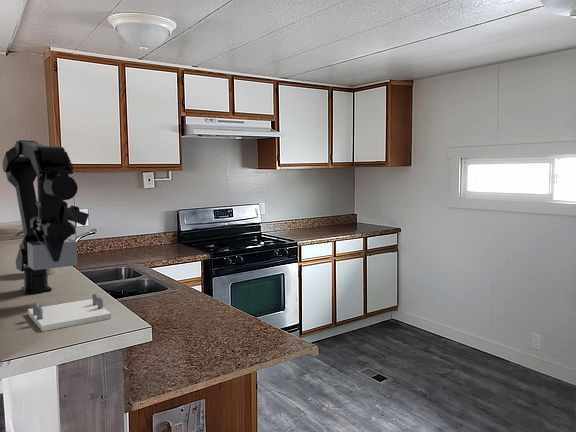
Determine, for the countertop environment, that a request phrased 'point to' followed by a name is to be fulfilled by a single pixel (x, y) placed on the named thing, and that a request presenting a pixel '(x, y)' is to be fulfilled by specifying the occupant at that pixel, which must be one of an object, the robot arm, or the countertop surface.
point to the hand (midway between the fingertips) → (52, 259)
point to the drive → (42, 257)
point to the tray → (69, 313)
